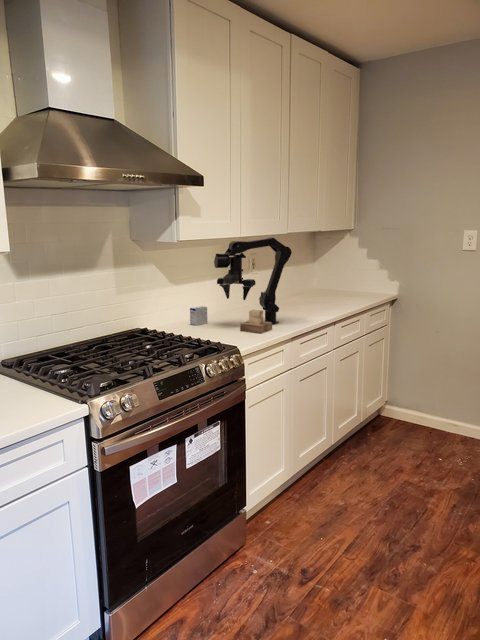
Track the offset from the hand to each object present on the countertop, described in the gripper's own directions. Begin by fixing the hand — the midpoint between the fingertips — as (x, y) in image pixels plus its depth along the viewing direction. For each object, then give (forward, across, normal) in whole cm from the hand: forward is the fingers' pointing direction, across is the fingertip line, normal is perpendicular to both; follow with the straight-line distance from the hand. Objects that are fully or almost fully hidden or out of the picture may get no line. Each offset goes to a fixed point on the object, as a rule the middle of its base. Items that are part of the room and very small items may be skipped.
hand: (236, 299), depth 250 cm
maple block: (+10, +14, -5) cm, 18 cm away
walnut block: (+14, +14, -5) cm, 20 cm away
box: (+13, -18, -6) cm, 23 cm away
